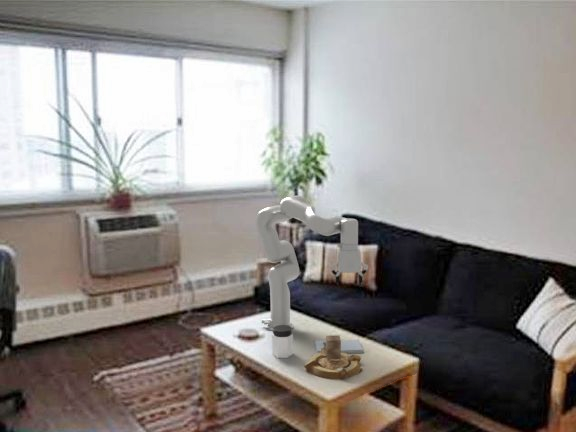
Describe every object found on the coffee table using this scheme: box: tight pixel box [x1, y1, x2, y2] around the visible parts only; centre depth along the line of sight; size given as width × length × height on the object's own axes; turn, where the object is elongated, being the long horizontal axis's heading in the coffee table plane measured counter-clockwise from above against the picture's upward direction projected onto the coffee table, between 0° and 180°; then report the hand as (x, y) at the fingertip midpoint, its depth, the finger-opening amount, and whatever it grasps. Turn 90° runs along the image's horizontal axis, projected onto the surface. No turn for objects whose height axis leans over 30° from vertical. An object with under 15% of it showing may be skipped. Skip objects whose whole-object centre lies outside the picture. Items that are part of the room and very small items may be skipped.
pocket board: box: [314, 338, 364, 354], centre depth 251 cm, size 20×12×2 cm, turn 92°
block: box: [325, 335, 342, 359], centre depth 231 cm, size 6×6×8 cm
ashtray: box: [303, 347, 362, 380], centre depth 232 cm, size 24×24×5 cm
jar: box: [271, 325, 294, 359], centre depth 244 cm, size 9×8×12 cm
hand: (348, 284), depth 251 cm, fingers open, 9 cm apart
